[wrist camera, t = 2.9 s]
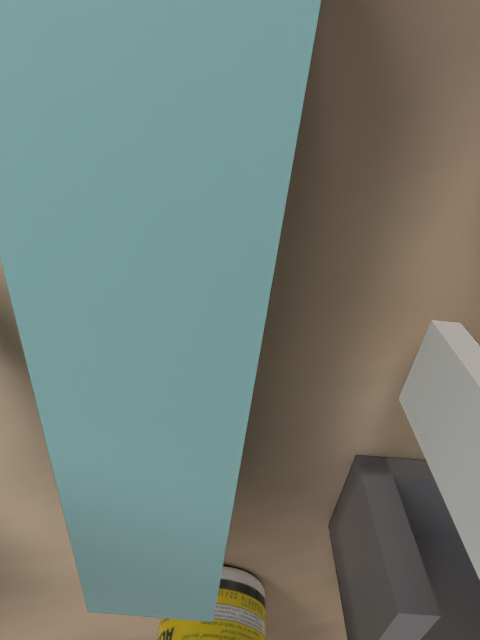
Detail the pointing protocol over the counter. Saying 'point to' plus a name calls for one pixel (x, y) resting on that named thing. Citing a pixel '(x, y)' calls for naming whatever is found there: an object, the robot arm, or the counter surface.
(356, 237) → the counter surface
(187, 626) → the supplement bottle
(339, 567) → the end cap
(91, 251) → the teal rectangular bar
